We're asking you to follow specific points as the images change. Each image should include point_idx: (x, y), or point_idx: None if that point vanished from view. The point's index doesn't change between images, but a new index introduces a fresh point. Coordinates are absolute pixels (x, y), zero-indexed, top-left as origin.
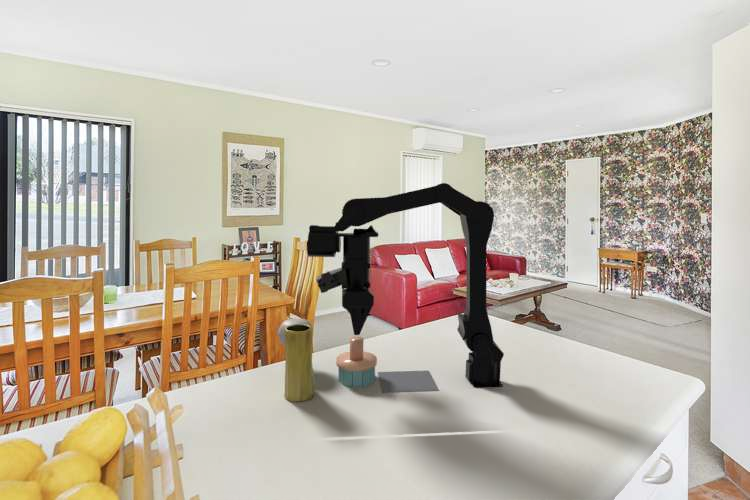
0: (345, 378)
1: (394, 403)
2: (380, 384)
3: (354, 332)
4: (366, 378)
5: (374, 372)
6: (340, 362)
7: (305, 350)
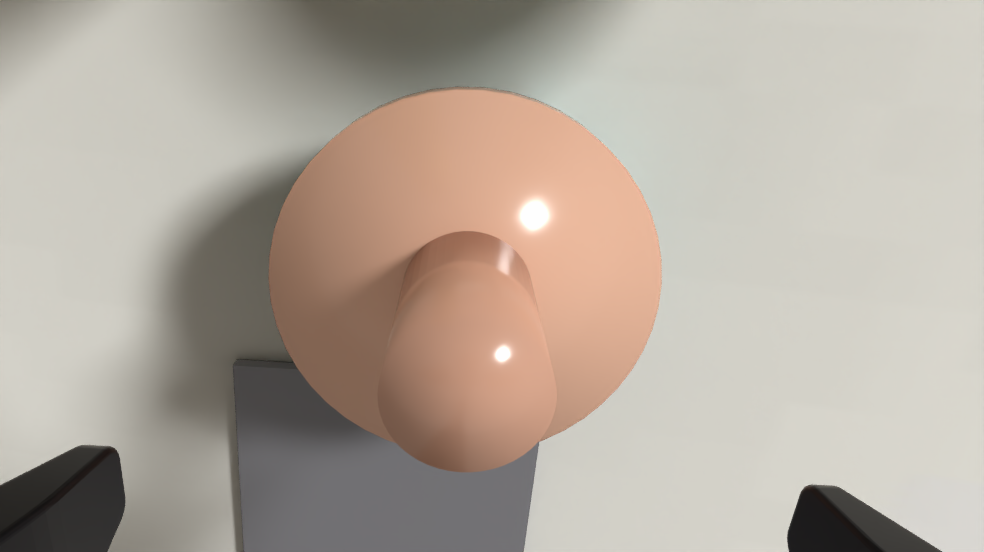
0: None
1: (120, 405)
2: None
3: (45, 472)
4: None
5: None
6: (387, 130)
7: None
